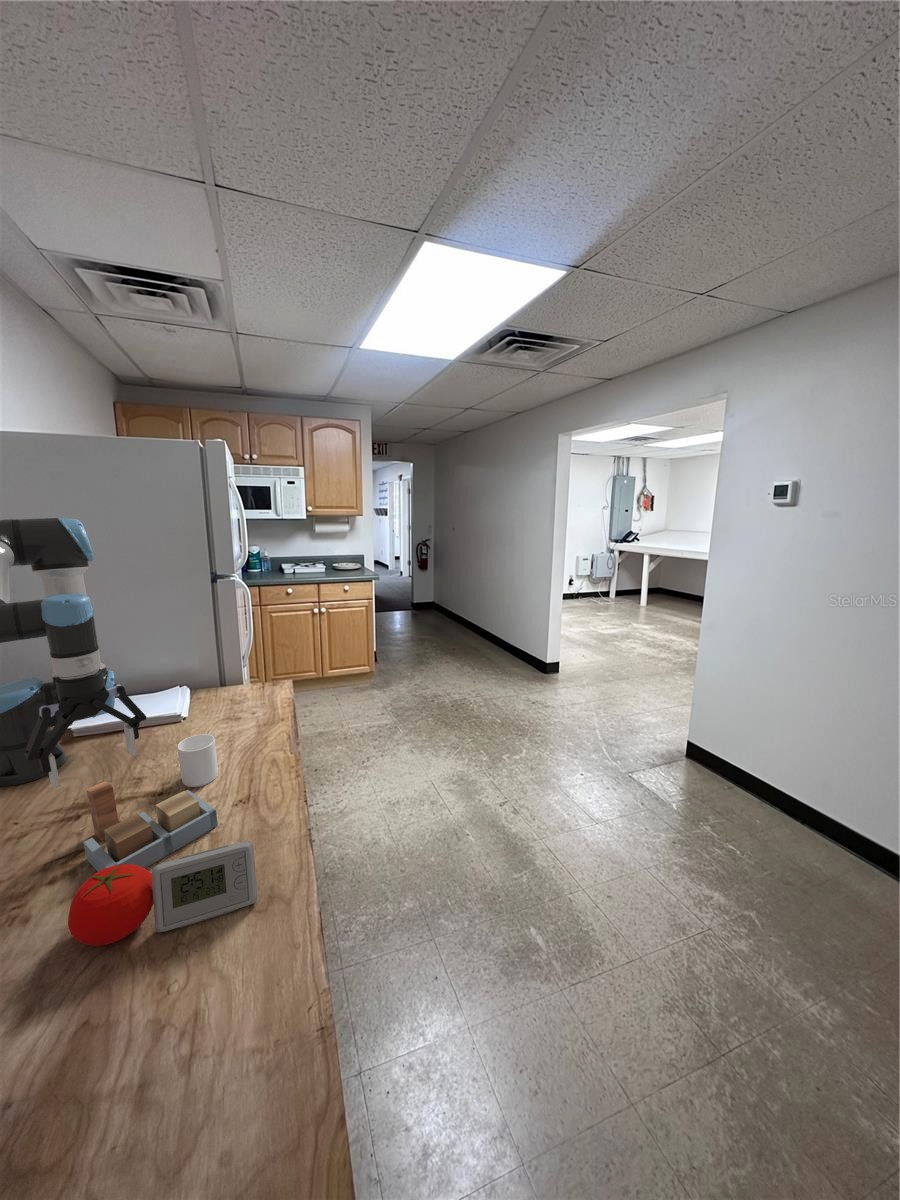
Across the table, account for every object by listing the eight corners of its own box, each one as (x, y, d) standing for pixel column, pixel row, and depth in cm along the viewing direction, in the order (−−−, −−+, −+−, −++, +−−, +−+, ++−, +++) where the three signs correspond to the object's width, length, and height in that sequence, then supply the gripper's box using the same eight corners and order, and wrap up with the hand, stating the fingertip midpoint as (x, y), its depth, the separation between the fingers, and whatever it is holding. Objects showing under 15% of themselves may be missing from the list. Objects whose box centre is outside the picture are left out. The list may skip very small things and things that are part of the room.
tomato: (84, 912, 83) (74, 862, 80) (164, 890, 87) (157, 842, 85) (62, 971, 73) (50, 916, 70) (154, 943, 77) (145, 890, 75)
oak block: (159, 833, 102) (155, 805, 100) (187, 817, 106) (184, 790, 105) (173, 845, 98) (169, 816, 97) (201, 828, 103) (198, 800, 102)
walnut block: (88, 837, 100) (79, 792, 97) (119, 821, 105) (112, 778, 102) (122, 874, 91) (113, 825, 88) (155, 855, 96) (148, 808, 93)
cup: (182, 791, 115) (177, 754, 113) (181, 766, 125) (177, 732, 123) (219, 781, 119) (215, 746, 117) (216, 758, 129) (212, 725, 127)
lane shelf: (86, 858, 94) (83, 842, 93) (189, 804, 111) (187, 789, 110) (111, 887, 88) (108, 869, 87) (217, 825, 104) (216, 809, 103)
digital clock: (150, 939, 78) (141, 886, 76) (169, 894, 87) (162, 845, 84) (254, 921, 82) (249, 870, 79) (262, 879, 90) (258, 832, 88)
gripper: (0, 699, 81) (24, 807, 85) (155, 658, 101) (168, 748, 105) (-13, 689, 85) (11, 792, 90) (139, 651, 105) (152, 738, 110)
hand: (96, 768), depth 98 cm, fingers open, 13 cm apart
